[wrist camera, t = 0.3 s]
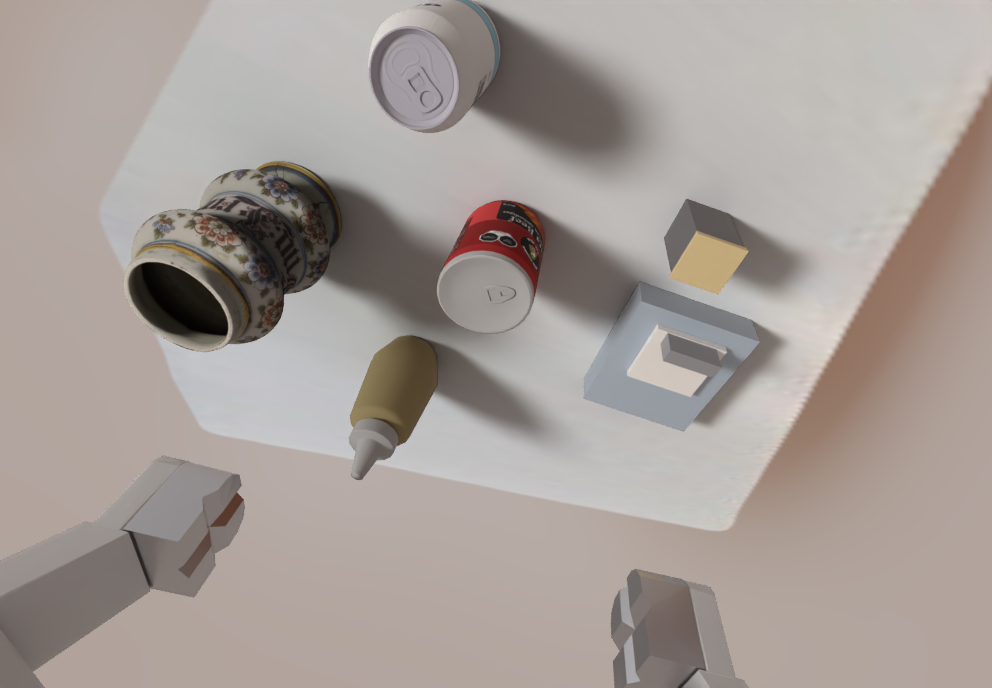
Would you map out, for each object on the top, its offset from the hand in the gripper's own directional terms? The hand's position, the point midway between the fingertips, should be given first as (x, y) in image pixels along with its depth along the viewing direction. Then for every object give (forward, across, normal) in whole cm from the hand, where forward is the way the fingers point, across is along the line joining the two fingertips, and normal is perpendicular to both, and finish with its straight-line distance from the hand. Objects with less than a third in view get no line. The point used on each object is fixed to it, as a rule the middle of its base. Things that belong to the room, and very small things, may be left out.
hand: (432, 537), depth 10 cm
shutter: (+37, -18, +16) cm, 44 cm away
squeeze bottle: (+42, +9, +27) cm, 51 cm away
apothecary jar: (+40, +23, +12) cm, 48 cm away
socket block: (+40, -18, +18) cm, 48 cm away
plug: (+39, -15, +4) cm, 42 cm away
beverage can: (+38, +8, -6) cm, 40 cm away
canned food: (+40, +2, +9) cm, 41 cm away
